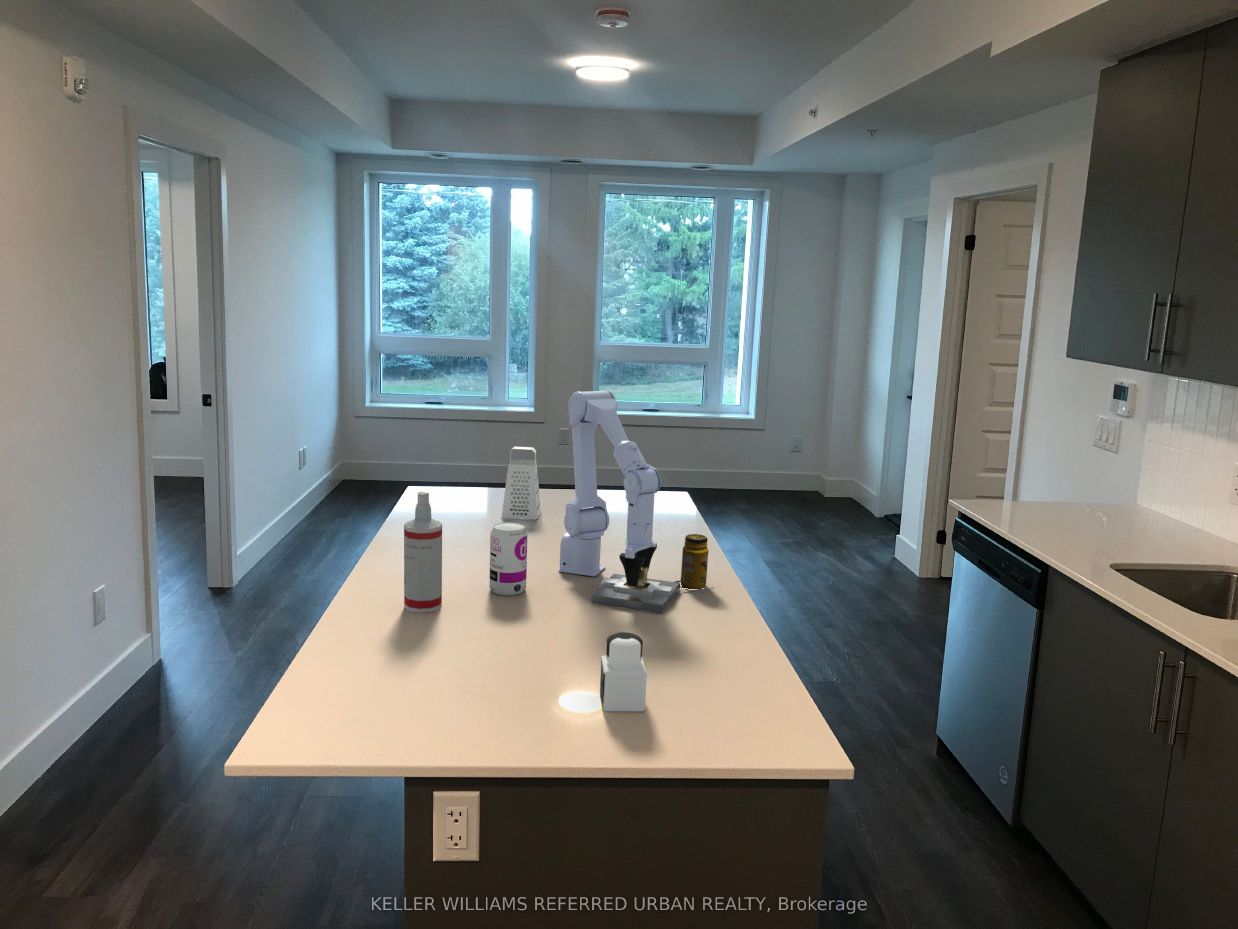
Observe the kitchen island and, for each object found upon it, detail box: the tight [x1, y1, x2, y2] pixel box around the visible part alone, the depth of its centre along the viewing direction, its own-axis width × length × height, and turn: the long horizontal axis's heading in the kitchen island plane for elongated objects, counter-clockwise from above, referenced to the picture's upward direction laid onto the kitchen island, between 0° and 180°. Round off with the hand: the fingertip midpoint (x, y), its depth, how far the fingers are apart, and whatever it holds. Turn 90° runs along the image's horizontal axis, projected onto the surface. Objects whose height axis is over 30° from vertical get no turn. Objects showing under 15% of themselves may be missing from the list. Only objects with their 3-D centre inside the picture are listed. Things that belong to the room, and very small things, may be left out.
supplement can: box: [489, 521, 529, 597], centre depth 213 cm, size 8×8×15 cm
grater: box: [501, 446, 542, 520], centre depth 278 cm, size 10×10×20 cm
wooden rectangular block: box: [627, 566, 649, 588], centre depth 213 cm, size 4×2×7 cm, turn 72°
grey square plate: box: [590, 573, 681, 615], centre depth 213 cm, size 16×16×2 cm
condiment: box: [673, 533, 714, 593], centre depth 222 cm, size 7×8×12 cm
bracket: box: [600, 577, 673, 596], centre depth 213 cm, size 16×7×1 cm, turn 72°
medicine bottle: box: [599, 631, 648, 713], centre depth 160 cm, size 7×7×12 cm
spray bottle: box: [403, 491, 443, 614], centre depth 199 cm, size 8×8×25 cm
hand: (637, 580), depth 213 cm, fingers open, 7 cm apart
